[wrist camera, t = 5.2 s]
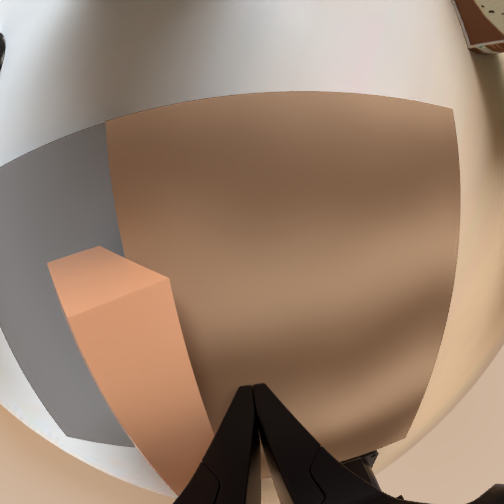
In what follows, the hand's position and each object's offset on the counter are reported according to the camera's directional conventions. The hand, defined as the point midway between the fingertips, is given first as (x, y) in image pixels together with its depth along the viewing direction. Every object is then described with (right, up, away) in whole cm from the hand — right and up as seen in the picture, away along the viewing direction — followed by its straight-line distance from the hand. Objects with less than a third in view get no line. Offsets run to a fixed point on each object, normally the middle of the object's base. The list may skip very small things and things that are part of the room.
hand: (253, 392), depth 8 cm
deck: (+2, +2, +5) cm, 6 cm away
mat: (-11, 0, +4) cm, 11 cm away
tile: (-4, 0, 0) cm, 4 cm away
